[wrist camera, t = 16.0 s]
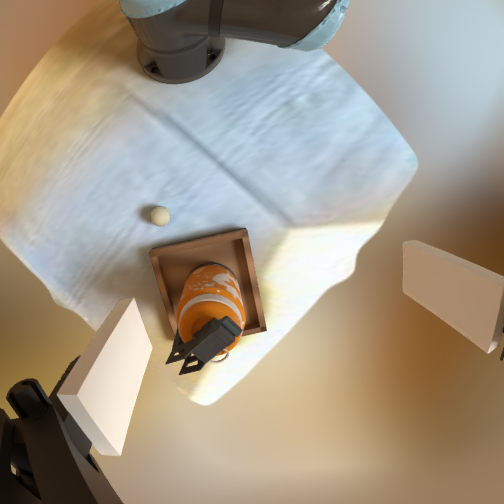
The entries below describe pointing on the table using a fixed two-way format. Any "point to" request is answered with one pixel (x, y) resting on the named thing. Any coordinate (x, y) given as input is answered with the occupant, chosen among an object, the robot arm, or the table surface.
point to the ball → (160, 216)
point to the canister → (208, 316)
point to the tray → (203, 251)
